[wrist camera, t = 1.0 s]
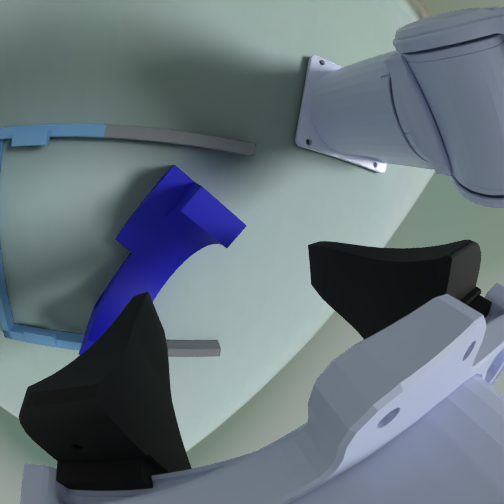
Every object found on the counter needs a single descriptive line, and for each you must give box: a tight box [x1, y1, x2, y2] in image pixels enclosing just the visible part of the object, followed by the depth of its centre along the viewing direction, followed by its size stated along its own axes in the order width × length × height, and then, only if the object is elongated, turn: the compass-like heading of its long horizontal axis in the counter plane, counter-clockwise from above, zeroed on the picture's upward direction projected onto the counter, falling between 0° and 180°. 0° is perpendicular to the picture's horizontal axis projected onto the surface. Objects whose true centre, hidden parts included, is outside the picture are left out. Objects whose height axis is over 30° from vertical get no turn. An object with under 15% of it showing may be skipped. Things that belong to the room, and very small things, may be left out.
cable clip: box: [79, 165, 246, 355], centre depth 16 cm, size 12×4×6 cm, turn 136°
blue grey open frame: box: [0, 124, 256, 357], centre depth 16 cm, size 20×17×2 cm
